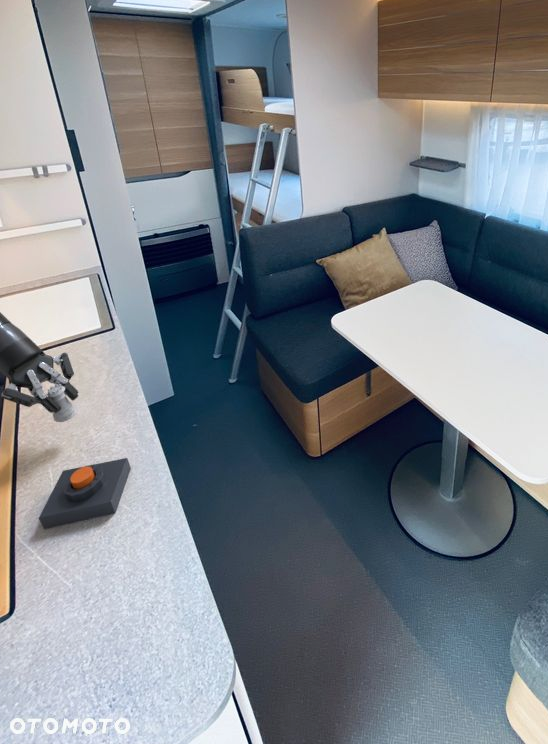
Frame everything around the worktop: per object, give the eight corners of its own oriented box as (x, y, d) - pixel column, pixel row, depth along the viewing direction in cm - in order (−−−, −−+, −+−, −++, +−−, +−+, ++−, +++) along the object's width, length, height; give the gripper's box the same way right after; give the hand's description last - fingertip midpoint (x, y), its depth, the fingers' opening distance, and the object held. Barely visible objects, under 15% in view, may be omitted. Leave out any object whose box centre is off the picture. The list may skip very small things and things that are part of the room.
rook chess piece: (59, 426, 89) (47, 398, 86) (50, 418, 92) (38, 390, 88) (81, 412, 93) (71, 385, 90) (72, 405, 95) (61, 378, 92)
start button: (69, 491, 78) (66, 485, 77) (77, 474, 81) (74, 468, 80) (90, 487, 78) (87, 480, 78) (97, 470, 82) (95, 464, 81)
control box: (44, 529, 76) (34, 511, 74) (67, 481, 85) (60, 464, 83) (115, 513, 78) (108, 495, 76) (131, 468, 87) (125, 451, 85)
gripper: (-26, 362, 81) (39, 422, 82) (47, 323, 93) (102, 376, 94) (-32, 377, 85) (29, 435, 86) (38, 338, 97) (91, 389, 98)
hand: (67, 404), depth 90 cm, fingers closed on rook chess piece, 3 cm apart
